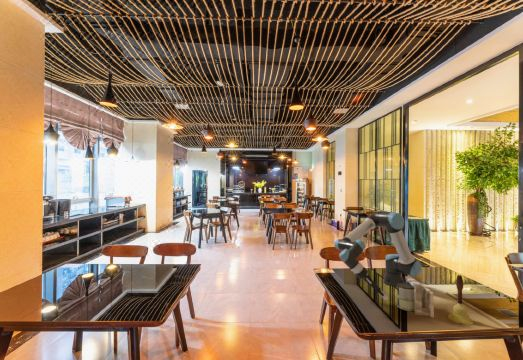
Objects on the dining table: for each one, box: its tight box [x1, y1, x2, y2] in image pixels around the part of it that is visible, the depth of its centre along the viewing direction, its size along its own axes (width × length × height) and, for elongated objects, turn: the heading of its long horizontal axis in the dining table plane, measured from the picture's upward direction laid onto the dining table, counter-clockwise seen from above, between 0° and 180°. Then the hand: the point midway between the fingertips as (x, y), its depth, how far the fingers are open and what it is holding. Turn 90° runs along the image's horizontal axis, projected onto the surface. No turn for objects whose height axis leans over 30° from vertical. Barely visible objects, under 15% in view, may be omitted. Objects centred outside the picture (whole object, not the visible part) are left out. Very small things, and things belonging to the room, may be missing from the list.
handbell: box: [447, 274, 474, 325], centre depth 157 cm, size 12×12×25 cm
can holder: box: [404, 275, 435, 319], centre depth 169 cm, size 20×9×18 cm, turn 169°
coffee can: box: [396, 281, 415, 312], centre depth 172 cm, size 10×10×14 cm
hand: (386, 299), depth 172 cm, fingers closed
